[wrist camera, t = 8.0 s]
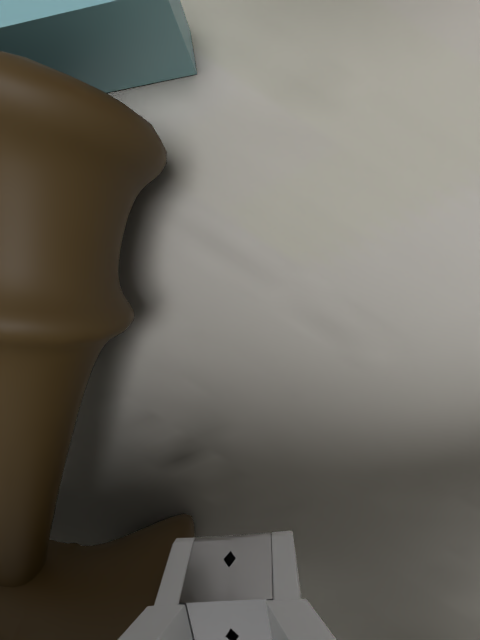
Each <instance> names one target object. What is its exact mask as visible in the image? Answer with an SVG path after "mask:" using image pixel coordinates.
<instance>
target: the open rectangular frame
mask: <svg viewBox="0 0 480 640" xmlns="http://www.w3.org/2000/svg"><path fill="white" fill-rule="evenodd" d="M0 51H4V52H7V53H11V54H15V55H19V56H22V57H26V58H29V59H31V60H34V61H36V62H38V63H41V64H43V65H46V66H48V67H50V68H53V69H55V70H58V71H60V72H62V73H65V74H67V75H70V76H72V77H74V78H76V79H78V80H80V81H83V82H85V83H87V84H89V85H91V86H93V87H95V88H97V89H99V90H102V91H104V92H105V93H108V92H113V91H117V90H122V89H127V88H132V87H137V86H142V85H146V84H151V83H156V82H161V81H166V80H170V79H175V78H180V77H185V76H190V75H195V74H197V71H196V64H195V58H194V52H193V45H192V39H191V32H190V28H189V25H188V23H187V20H186V17H185V14H184V11H183V8H182V5H181V2H180V0H0Z"/></svg>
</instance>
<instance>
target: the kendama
mask: <svg viewBox="0 0 480 640" xmlns="http://www.w3.org/2000/svg"><path fill="white" fill-rule="evenodd" d="M166 156H167V152H166V150H165V148H164V146H163V144H162V142H161V140H160V138H159V136H158V135H157V133H156V131H155V130H154V128H153V126H152V125H151V124H150V123H149V122H147V121H146V120H145V119H143V118H142V117H141V116H139V115H138V114H137V113H135V112H134V111H133V110H131V109H130V108H129V107H127V106H126V105H125V104H123V103H122V102H120V101H118V100H117V99H115V98H113V97H112V96H110V95H108V94H107V93H105V92H104V91H102V90H99V89H97V88H95V87H93V86H91V85H89V84H87V83H85V82H83V81H80V80H78V79H76V78H74V77H72V76H70V75H67V74H65V73H62V72H60V71H58V70H55V69H53V68H50V67H48V66H46V65H43V64H41V63H38V62H36V61H34V60H31V59H29V58H26V57H22V56H19V55H15V54H11V53H7V52H4V51H0V640H118V639H119V638H120V636H121V635H122V634H123V633H124V632H125V631H126V630H127V629H128V628H129V626H130V625H131V624H132V623H133V622H134V621H135V620H136V619H137V617H138V616H139V615H140V614H141V613H142V612H143V611H144V610H145V609H146V607H147V606H154V604H155V600H156V597H157V594H158V590H159V587H160V584H161V580H162V577H163V574H164V571H165V567H166V564H167V561H168V557H169V554H170V551H171V548H172V544H173V543H174V541H175V540H176V538H193V537H194V533H195V527H194V523H193V519H192V516H190V515H187V514H180V515H176V516H173V517H170V518H167V519H165V520H162V521H160V522H157V523H155V524H153V525H150V526H148V527H146V528H143V529H141V530H139V531H136V532H134V533H131V534H129V535H127V536H124V537H122V538H119V539H116V540H113V541H110V542H107V543H103V544H98V545H93V546H81V545H79V544H77V543H69V544H68V543H62V542H57V541H53V540H49V537H50V532H51V527H52V522H53V517H54V512H55V507H56V502H57V497H58V492H59V488H60V484H61V479H62V475H63V470H64V466H65V462H66V458H67V454H68V450H69V446H70V442H71V438H72V434H73V430H74V427H75V423H76V419H77V416H78V412H79V408H80V405H81V402H82V398H83V395H84V392H85V388H86V385H87V382H88V380H89V377H90V374H91V371H92V369H93V366H94V363H95V361H96V359H97V357H98V356H99V354H100V352H101V350H102V348H103V346H104V345H105V344H106V343H107V342H108V340H110V339H111V338H113V337H115V336H117V335H119V334H120V333H122V332H124V331H125V330H126V328H127V327H128V326H129V325H130V324H131V323H132V322H133V320H134V311H133V309H132V307H131V305H130V304H129V303H128V301H127V300H126V298H125V297H124V295H123V293H122V290H121V287H120V283H119V275H118V271H119V256H120V250H121V244H122V239H123V234H124V230H125V227H126V223H127V219H128V216H129V213H130V211H131V208H132V205H133V203H134V200H135V199H136V197H137V196H138V194H139V193H140V191H141V190H142V189H143V188H144V187H145V186H146V185H147V184H148V183H149V182H151V181H152V180H153V179H155V178H156V177H157V176H158V175H159V174H160V173H161V172H162V170H163V168H164V167H165V165H166Z"/></svg>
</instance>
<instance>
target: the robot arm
mask: <svg viewBox="0 0 480 640" xmlns="http://www.w3.org/2000/svg"><path fill="white" fill-rule="evenodd" d="M118 640H337V639H336V638H335V637H334V635H333V634H332V633H331V631H330V630H329V628H328V627H327V626H326V624H325V623H324V622H323V620H322V619H321V618H320V616H319V615H318V614H317V612H316V611H315V610H314V608H313V607H312V605H311V604H310V603H309V601H308V600H307V599H302V597H301V589H300V582H299V575H298V567H297V560H296V552H295V545H294V537H293V532H292V531H279V532H267V533H254V534H241V535H233V536H207V537H193V538H176V540H175V541H174V543H173V544H172V548H171V551H170V554H169V557H168V561H167V564H166V567H165V571H164V574H163V577H162V580H161V584H160V587H159V590H158V594H157V597H156V600H155V604H154V606H147V607H146V609H145V610H144V611H143V612H142V613H141V614H140V615H139V616H138V617H137V619H136V620H135V621H134V622H133V623H132V624H131V625H130V626H129V628H128V629H127V630H126V631H125V632H124V633H123V634H122V635H121V636H120V638H119V639H118Z"/></svg>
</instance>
